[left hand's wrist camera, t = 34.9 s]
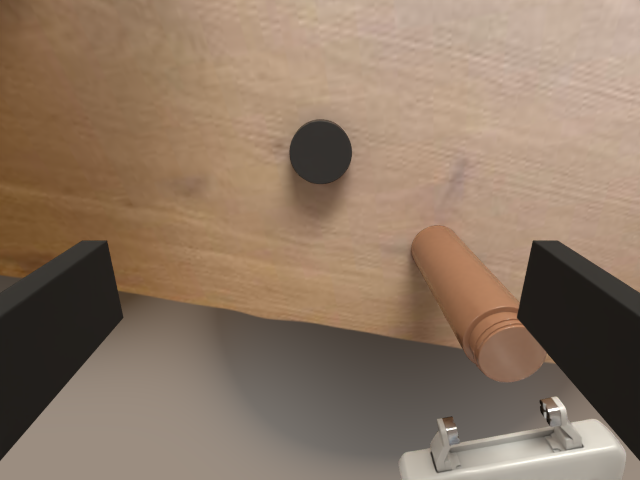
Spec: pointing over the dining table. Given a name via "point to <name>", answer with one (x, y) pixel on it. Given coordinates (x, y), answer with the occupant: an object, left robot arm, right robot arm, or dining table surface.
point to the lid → (320, 151)
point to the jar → (476, 307)
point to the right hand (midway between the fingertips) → (498, 413)
